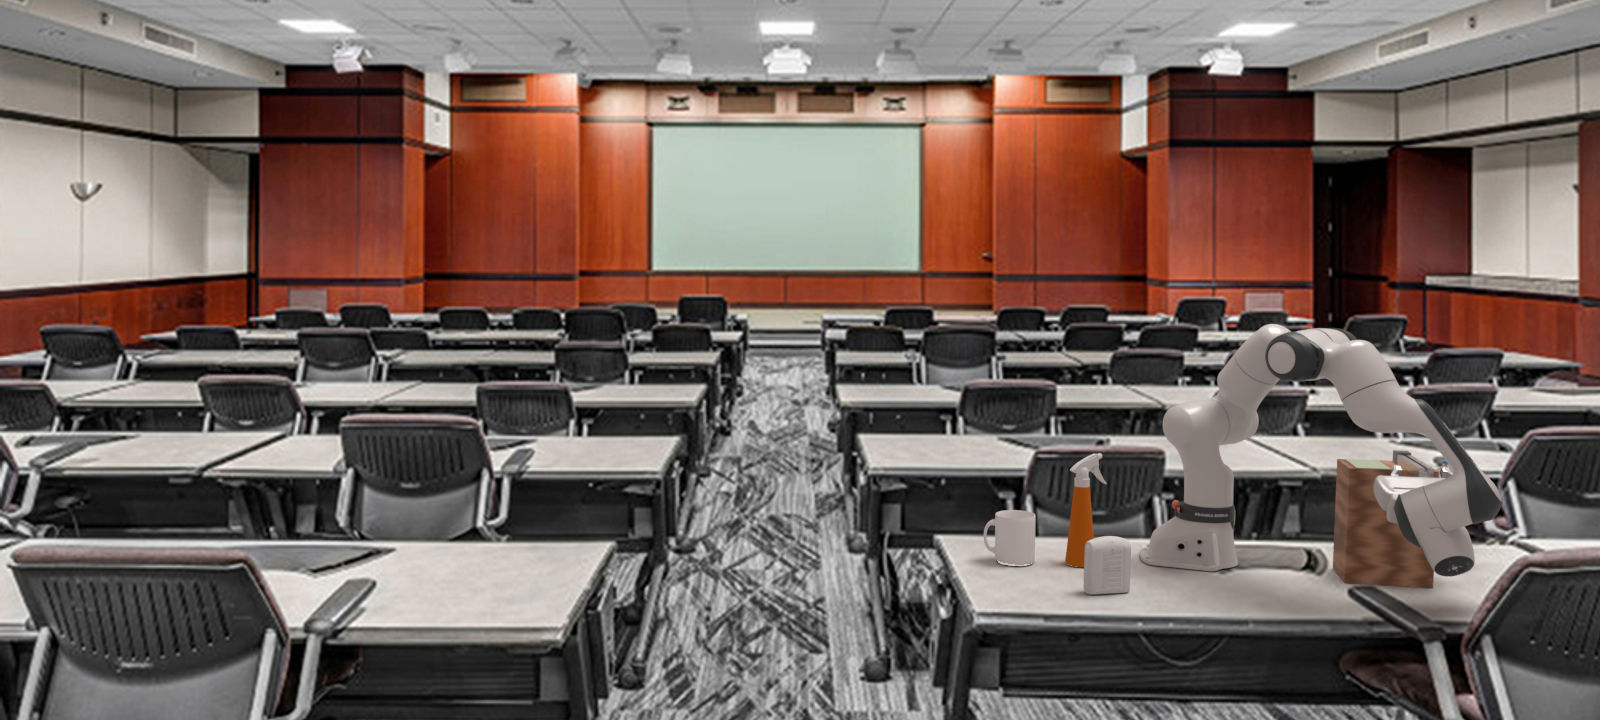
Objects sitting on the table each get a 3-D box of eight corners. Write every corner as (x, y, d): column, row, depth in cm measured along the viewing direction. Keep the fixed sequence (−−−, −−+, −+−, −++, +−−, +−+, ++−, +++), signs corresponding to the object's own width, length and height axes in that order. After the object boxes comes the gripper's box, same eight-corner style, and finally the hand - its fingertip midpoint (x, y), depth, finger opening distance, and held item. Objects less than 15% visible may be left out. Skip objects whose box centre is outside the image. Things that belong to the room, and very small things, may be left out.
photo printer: (1123, 587, 252) (1124, 532, 251) (1133, 593, 248) (1134, 537, 247) (1080, 591, 250) (1081, 535, 249) (1089, 596, 246) (1090, 540, 245)
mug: (1037, 568, 268) (1038, 519, 267) (985, 567, 269) (986, 518, 268) (1031, 557, 278) (1032, 510, 277) (982, 556, 278) (982, 509, 277)
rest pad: (1356, 468, 253) (1356, 467, 253) (1345, 459, 263) (1345, 459, 263) (1391, 469, 251) (1391, 468, 251) (1378, 461, 262) (1378, 460, 262)
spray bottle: (1114, 564, 271) (1116, 454, 269) (1078, 569, 267) (1080, 458, 264) (1094, 557, 278) (1096, 450, 275) (1058, 562, 273) (1060, 453, 270)
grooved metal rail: (1433, 478, 241) (1434, 466, 241) (1418, 478, 242) (1418, 466, 241) (1406, 462, 260) (1407, 450, 260) (1392, 461, 261) (1393, 450, 261)
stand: (1344, 582, 255) (1349, 468, 253) (1332, 568, 267) (1337, 458, 265) (1433, 588, 251) (1438, 471, 249) (1417, 573, 263) (1422, 461, 260)
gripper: (1495, 503, 230) (1476, 459, 241) (1384, 498, 235) (1371, 455, 246) (1487, 526, 234) (1470, 481, 245) (1379, 521, 239) (1366, 477, 250)
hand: (1419, 468), depth 245 cm, fingers open, 8 cm apart
